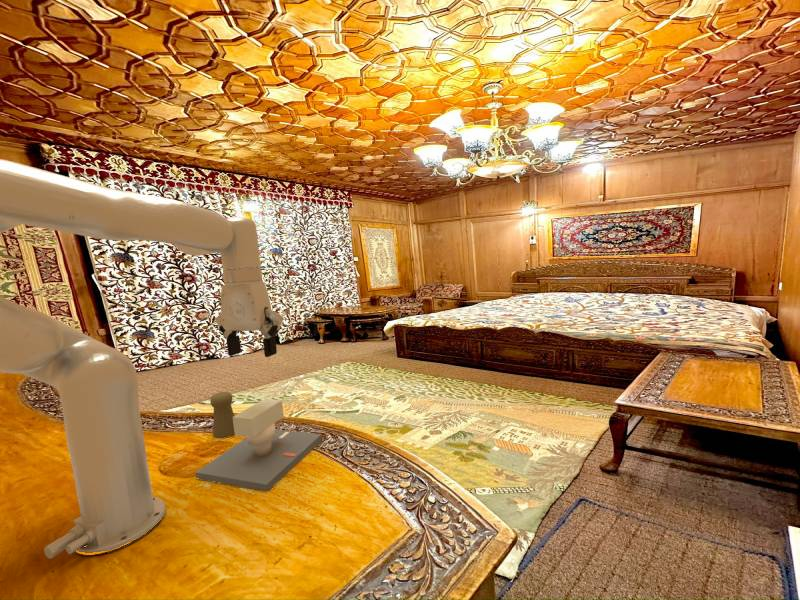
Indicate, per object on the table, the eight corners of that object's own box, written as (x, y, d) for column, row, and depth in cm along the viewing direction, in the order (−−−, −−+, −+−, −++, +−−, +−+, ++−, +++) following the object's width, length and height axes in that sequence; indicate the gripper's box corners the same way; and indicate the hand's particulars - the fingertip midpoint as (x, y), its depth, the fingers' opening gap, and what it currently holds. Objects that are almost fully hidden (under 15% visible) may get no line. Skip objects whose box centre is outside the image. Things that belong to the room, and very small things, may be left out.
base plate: (267, 491, 68) (264, 469, 68) (196, 479, 74) (193, 458, 74) (322, 440, 87) (320, 422, 87) (261, 433, 93) (259, 416, 92)
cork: (219, 441, 90) (214, 399, 89) (208, 435, 94) (203, 395, 92) (242, 431, 95) (237, 391, 94) (231, 425, 98) (226, 387, 97)
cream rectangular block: (257, 451, 74) (253, 419, 74) (234, 448, 76) (230, 416, 76) (288, 427, 84) (285, 399, 83) (267, 425, 86) (264, 397, 85)
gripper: (197, 280, 75) (208, 358, 77) (264, 276, 70) (274, 360, 72) (225, 277, 82) (234, 349, 84) (288, 273, 77) (296, 351, 79)
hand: (252, 354), depth 78 cm, fingers open, 9 cm apart
